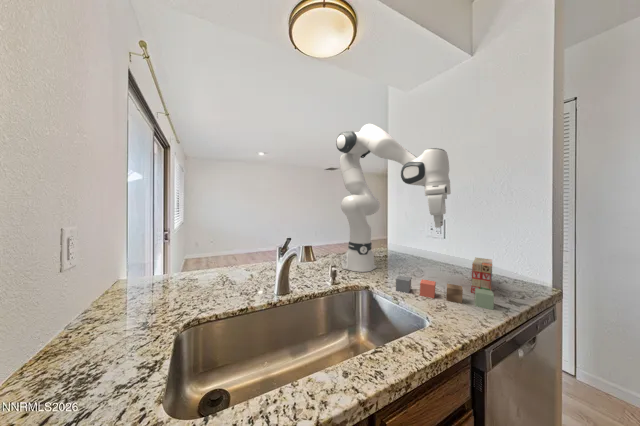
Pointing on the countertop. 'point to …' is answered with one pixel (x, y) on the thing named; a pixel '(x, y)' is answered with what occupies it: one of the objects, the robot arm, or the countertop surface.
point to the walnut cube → (454, 293)
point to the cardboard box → (481, 274)
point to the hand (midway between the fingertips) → (439, 226)
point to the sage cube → (484, 298)
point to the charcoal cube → (403, 284)
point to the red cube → (427, 288)
